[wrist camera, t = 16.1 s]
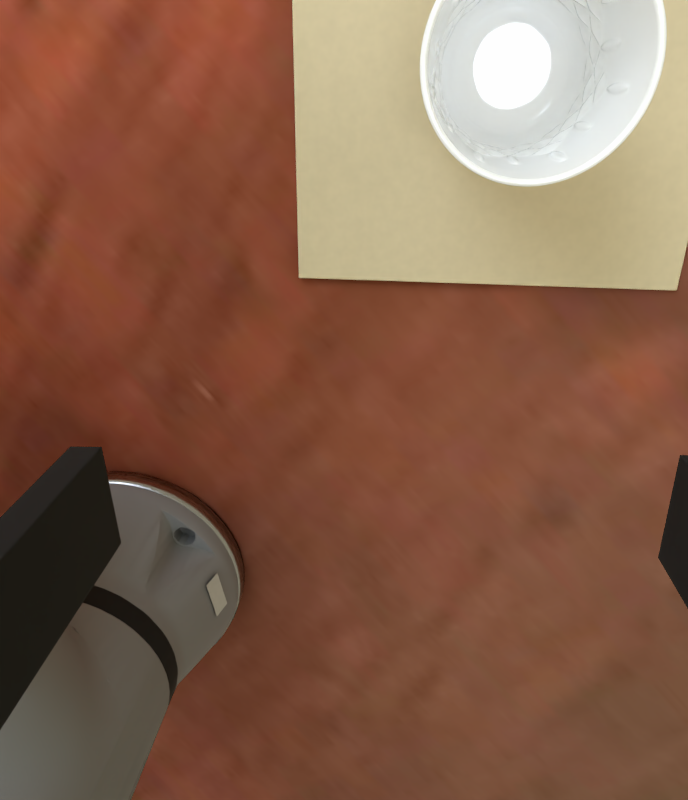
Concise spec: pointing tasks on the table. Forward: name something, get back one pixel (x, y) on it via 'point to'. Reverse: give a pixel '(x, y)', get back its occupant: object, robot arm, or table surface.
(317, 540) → the table surface
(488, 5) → the white cup
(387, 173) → the desk mat
